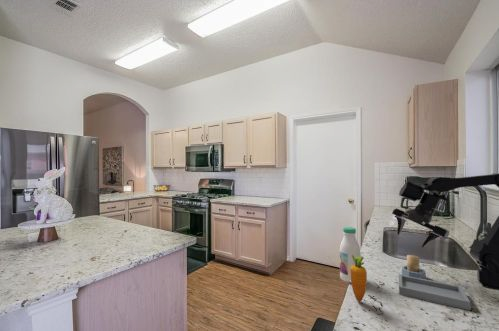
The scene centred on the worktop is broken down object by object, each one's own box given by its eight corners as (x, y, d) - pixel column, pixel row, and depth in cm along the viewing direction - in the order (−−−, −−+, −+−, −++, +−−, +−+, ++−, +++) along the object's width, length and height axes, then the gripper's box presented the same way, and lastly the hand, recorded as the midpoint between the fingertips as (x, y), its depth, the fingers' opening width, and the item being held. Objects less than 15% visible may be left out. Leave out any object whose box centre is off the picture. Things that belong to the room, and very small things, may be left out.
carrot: (347, 298, 76) (346, 252, 76) (361, 297, 76) (360, 252, 77) (355, 306, 71) (354, 257, 72) (371, 306, 71) (369, 257, 72)
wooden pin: (419, 276, 92) (418, 256, 92) (420, 280, 89) (419, 259, 89) (407, 273, 94) (406, 254, 95) (407, 277, 91) (407, 257, 91)
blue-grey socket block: (424, 275, 93) (424, 268, 93) (426, 283, 86) (426, 274, 86) (401, 271, 97) (401, 264, 97) (402, 278, 90) (402, 270, 90)
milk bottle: (360, 276, 92) (358, 226, 93) (362, 285, 85) (361, 230, 86) (339, 273, 95) (338, 225, 95) (340, 282, 87) (339, 229, 88)
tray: (461, 293, 78) (461, 286, 78) (470, 310, 69) (470, 302, 69) (398, 280, 88) (398, 274, 88) (399, 294, 78) (399, 286, 78)
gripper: (395, 194, 95) (379, 227, 96) (450, 215, 80) (430, 254, 81) (404, 197, 101) (389, 229, 103) (457, 218, 87) (438, 254, 88)
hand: (409, 240), depth 94 cm, fingers open, 9 cm apart
